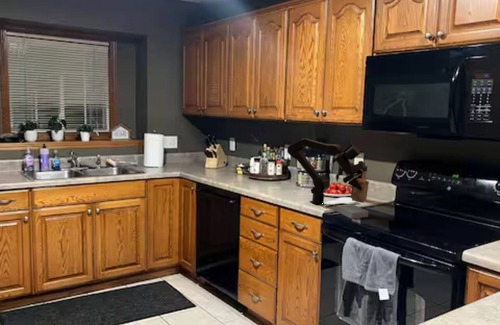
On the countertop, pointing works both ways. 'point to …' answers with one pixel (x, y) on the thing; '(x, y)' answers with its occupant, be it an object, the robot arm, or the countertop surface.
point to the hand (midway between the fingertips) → (363, 188)
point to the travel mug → (362, 177)
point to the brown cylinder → (360, 192)
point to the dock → (352, 211)
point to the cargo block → (361, 180)
